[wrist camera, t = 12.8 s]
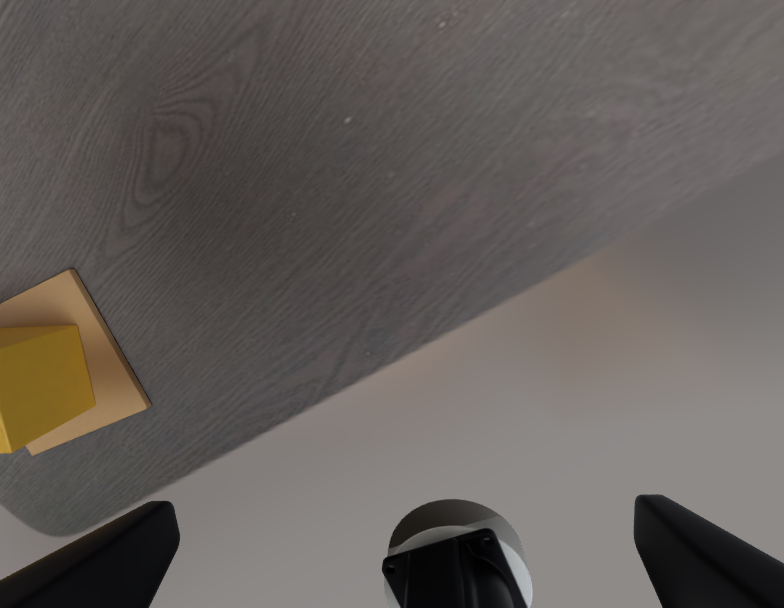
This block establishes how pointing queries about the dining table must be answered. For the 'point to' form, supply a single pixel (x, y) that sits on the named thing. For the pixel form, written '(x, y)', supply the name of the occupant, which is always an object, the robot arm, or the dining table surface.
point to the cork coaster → (102, 354)
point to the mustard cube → (40, 382)
